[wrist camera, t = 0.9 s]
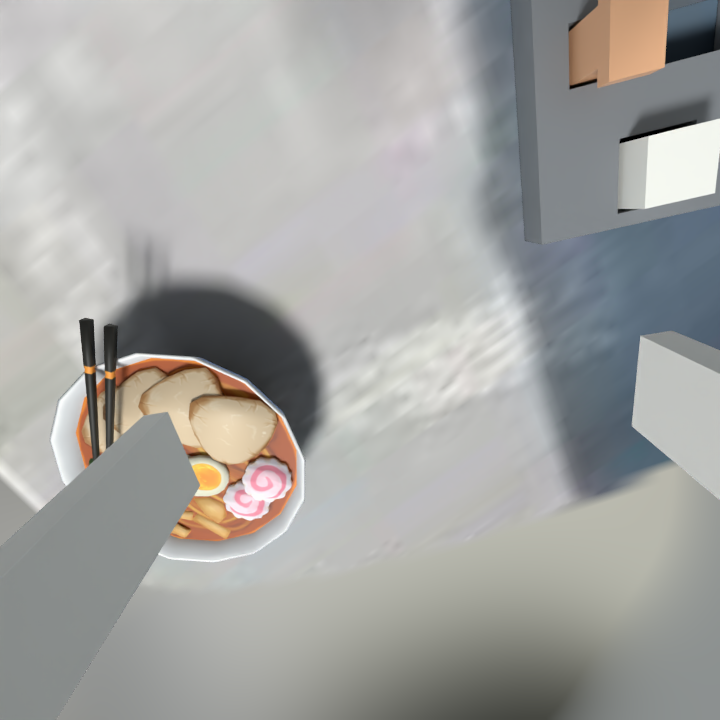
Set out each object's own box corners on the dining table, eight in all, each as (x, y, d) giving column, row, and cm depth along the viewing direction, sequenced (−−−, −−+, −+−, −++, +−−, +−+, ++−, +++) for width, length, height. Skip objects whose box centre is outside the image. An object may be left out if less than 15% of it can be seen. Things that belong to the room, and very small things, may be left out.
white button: (611, 145, 27) (648, 135, 24) (675, 130, 27) (723, 117, 23) (610, 208, 29) (644, 208, 25) (670, 194, 28) (714, 193, 25)
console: (502, -130, 24) (523, -184, 20) (780, -224, 22) (852, -300, 19) (524, 241, 32) (542, 244, 29) (727, 195, 30) (770, 193, 27)
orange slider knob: (554, 26, 26) (611, -30, 20) (600, 13, 25) (671, -48, 19) (557, 109, 27) (609, 82, 21) (599, 98, 27) (664, 67, 21)
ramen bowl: (293, 533, 46) (277, 598, 38) (104, 490, 44) (48, 548, 36) (344, 349, 36) (337, 386, 29) (106, 285, 35) (31, 307, 27)
